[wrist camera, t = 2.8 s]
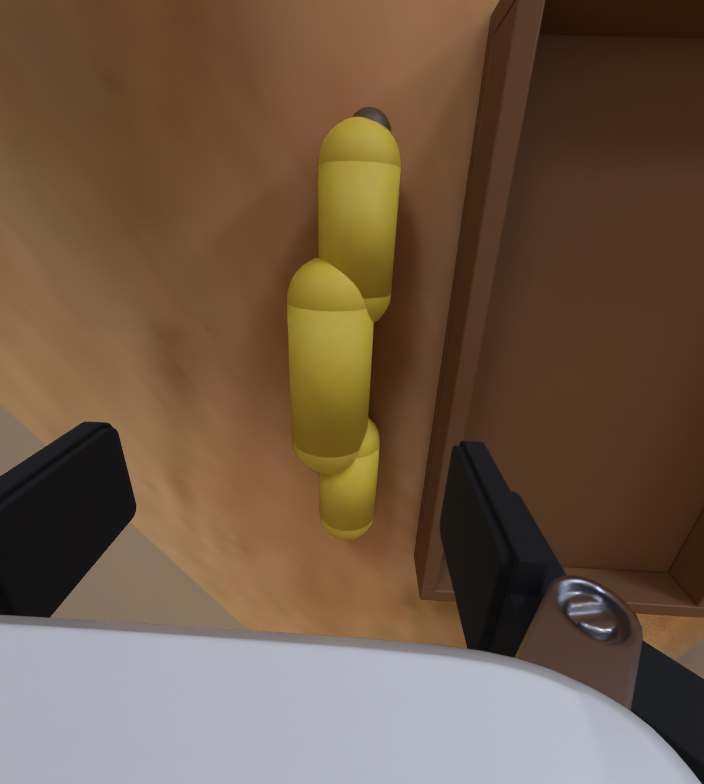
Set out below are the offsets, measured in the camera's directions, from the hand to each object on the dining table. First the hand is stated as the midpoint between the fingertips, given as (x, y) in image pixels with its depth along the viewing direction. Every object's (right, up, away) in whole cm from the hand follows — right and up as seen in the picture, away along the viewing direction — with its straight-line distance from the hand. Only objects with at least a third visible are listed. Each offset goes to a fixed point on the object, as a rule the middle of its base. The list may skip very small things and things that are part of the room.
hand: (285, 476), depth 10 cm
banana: (0, +4, +8) cm, 9 cm away
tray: (+14, +3, +7) cm, 16 cm away
